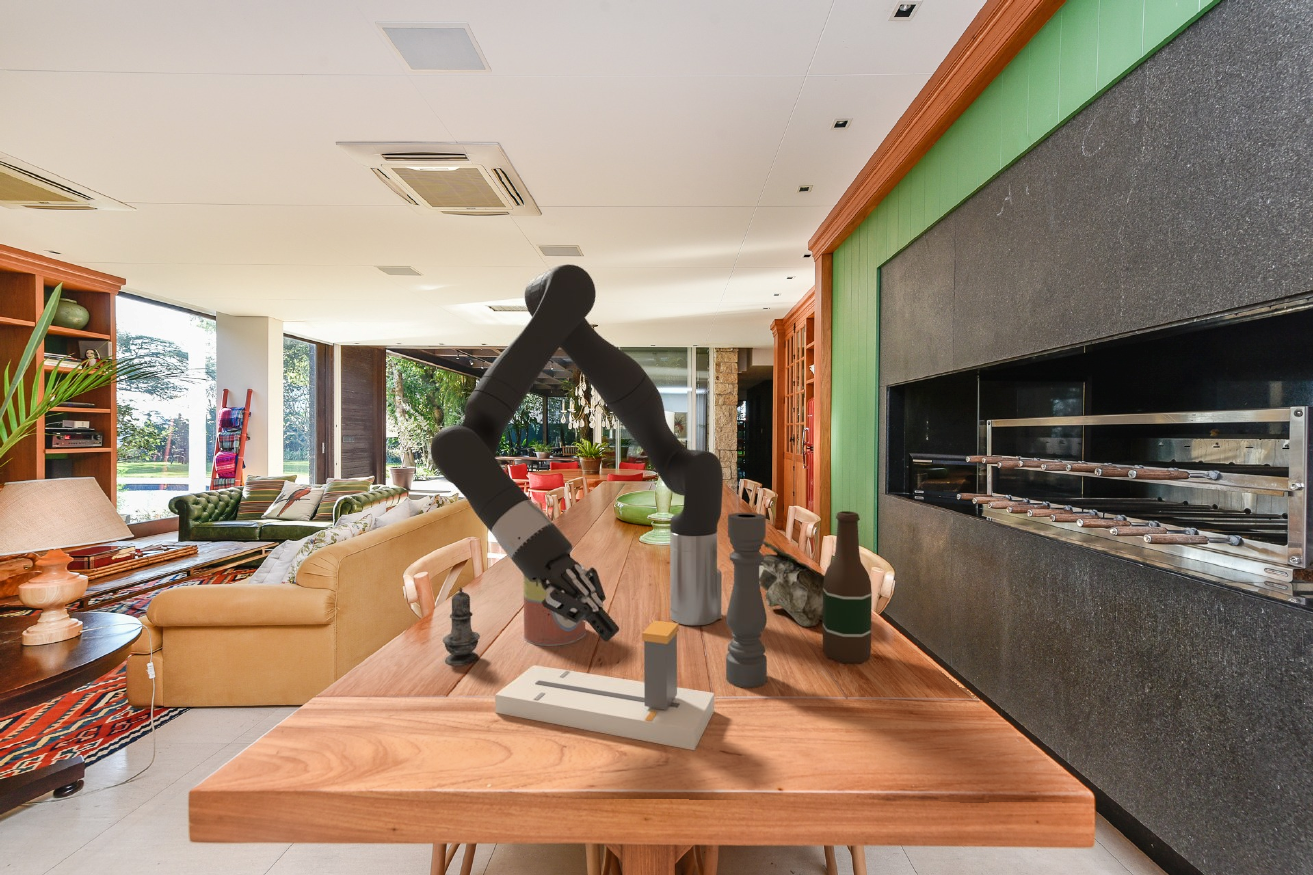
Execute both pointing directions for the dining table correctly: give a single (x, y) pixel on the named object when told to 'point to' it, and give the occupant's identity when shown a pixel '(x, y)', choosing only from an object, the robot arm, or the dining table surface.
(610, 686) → the fader console
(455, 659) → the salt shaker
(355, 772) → the dining table surface
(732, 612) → the candle holder
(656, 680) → the fader knob
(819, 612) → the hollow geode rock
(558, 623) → the canned food
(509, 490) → the robot arm
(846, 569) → the beer bottle
